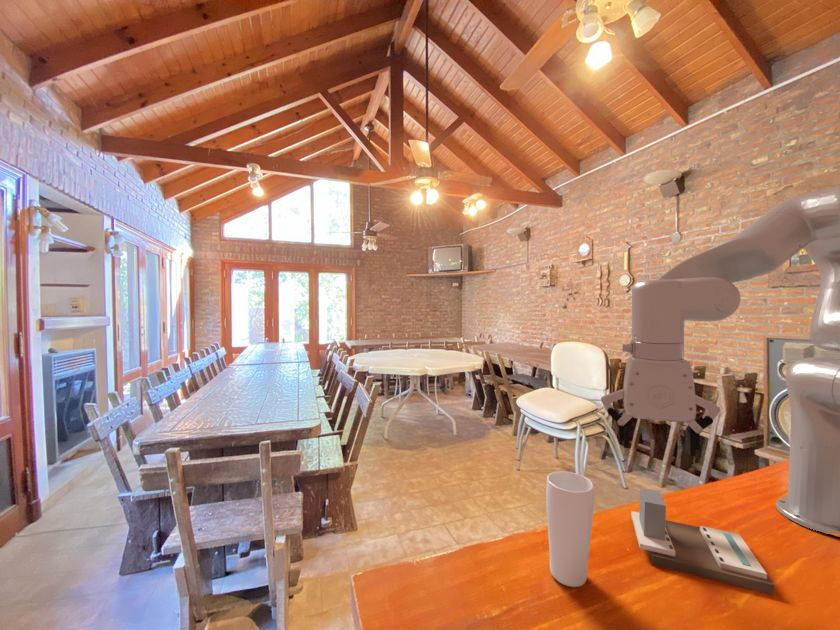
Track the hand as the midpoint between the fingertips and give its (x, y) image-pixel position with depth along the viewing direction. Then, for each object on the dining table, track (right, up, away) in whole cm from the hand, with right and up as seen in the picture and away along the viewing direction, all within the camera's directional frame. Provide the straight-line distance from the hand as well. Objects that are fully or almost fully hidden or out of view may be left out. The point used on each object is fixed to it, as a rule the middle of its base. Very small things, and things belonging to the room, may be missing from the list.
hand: (656, 449), depth 63 cm
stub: (-1, -15, 0) cm, 15 cm away
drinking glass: (-18, -17, -7) cm, 26 cm away
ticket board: (+6, -17, -2) cm, 18 cm away
